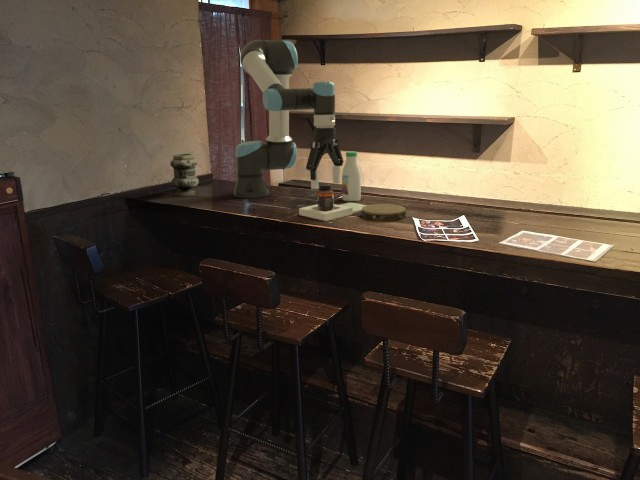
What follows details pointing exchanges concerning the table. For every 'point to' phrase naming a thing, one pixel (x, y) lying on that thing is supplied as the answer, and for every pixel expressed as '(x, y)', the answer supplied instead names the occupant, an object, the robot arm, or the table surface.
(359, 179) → the milk bottle
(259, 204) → the table surface
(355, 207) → the tile
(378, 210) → the tambourine
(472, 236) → the table surface
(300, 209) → the collar
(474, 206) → the table surface
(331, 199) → the supplement bottle
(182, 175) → the apothecary jar
